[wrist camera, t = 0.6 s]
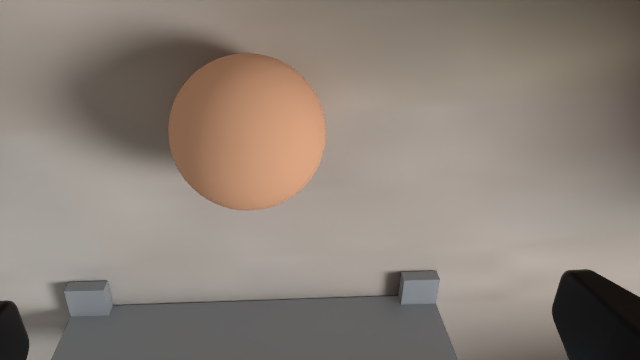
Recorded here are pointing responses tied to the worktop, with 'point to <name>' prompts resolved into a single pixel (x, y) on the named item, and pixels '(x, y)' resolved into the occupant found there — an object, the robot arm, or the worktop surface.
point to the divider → (259, 327)
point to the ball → (247, 131)
